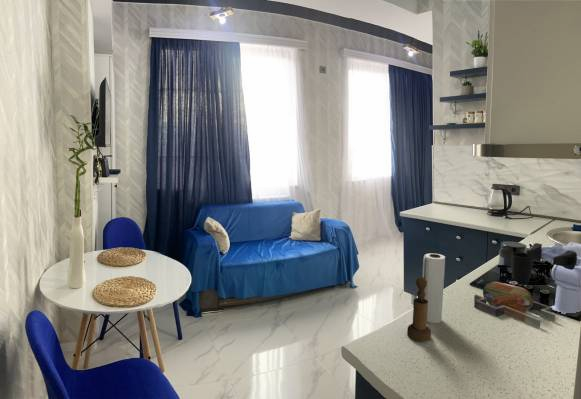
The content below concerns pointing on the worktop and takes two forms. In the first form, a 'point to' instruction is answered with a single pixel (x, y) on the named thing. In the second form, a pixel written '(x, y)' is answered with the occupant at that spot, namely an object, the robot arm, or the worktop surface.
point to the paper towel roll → (434, 285)
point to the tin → (508, 296)
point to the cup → (521, 267)
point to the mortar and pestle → (420, 315)
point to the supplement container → (509, 252)
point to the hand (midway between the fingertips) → (541, 257)
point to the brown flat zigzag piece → (536, 308)
